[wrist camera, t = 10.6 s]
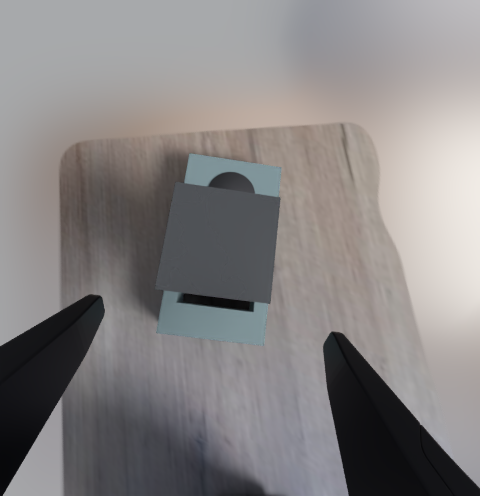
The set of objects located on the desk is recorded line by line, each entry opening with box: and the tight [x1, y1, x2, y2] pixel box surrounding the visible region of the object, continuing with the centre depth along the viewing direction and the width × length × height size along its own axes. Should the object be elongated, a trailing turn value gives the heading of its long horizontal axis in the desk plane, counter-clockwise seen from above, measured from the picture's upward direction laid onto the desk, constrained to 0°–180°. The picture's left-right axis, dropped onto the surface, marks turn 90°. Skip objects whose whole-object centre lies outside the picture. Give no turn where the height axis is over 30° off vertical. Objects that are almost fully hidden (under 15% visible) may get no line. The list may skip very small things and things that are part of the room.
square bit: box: [155, 182, 280, 304], centre depth 15 cm, size 4×4×12 cm
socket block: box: [156, 153, 281, 346], centre depth 20 cm, size 14×8×3 cm, turn 173°
